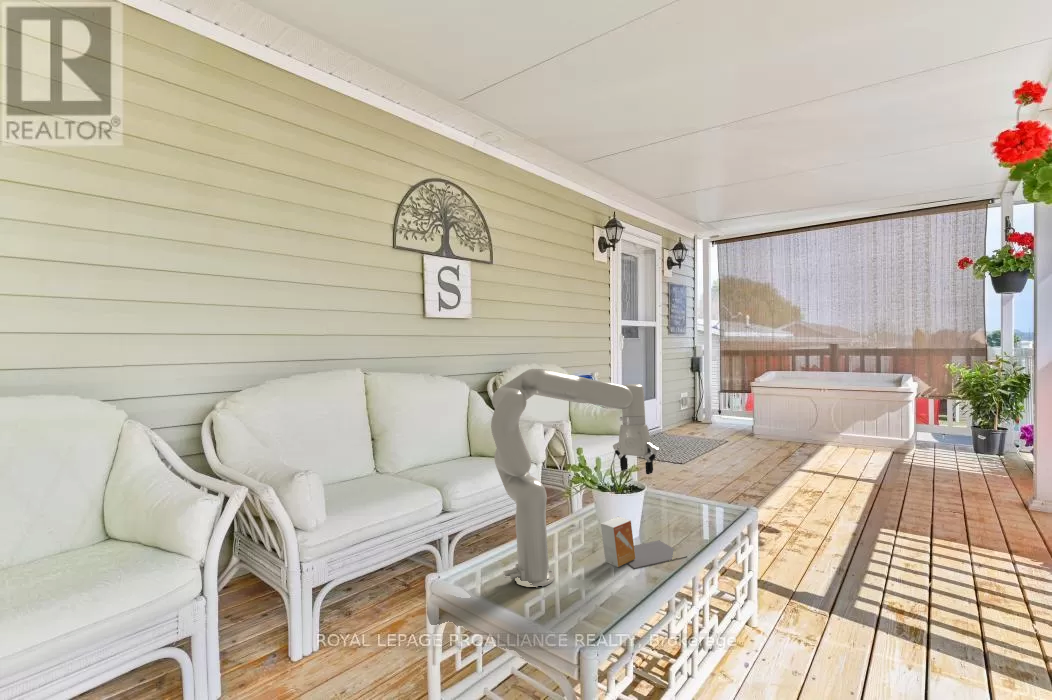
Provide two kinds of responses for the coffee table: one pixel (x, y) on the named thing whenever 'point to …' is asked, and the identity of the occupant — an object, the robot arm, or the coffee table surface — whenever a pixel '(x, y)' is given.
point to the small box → (618, 541)
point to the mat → (651, 554)
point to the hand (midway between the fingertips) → (636, 471)
